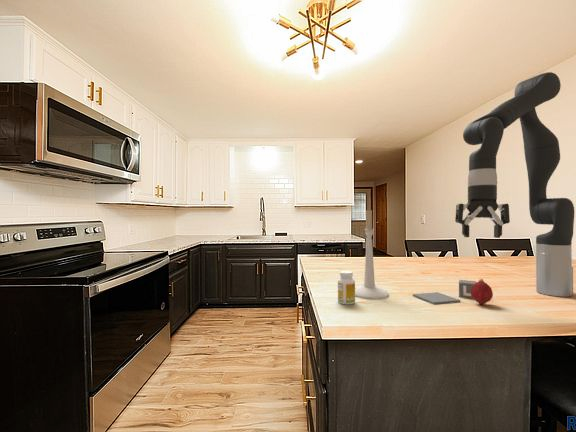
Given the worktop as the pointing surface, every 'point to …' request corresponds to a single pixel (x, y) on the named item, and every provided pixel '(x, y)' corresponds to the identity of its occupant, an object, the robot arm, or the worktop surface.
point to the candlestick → (369, 268)
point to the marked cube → (465, 288)
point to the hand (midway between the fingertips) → (481, 237)
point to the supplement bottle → (346, 288)
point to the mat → (436, 298)
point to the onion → (481, 292)
